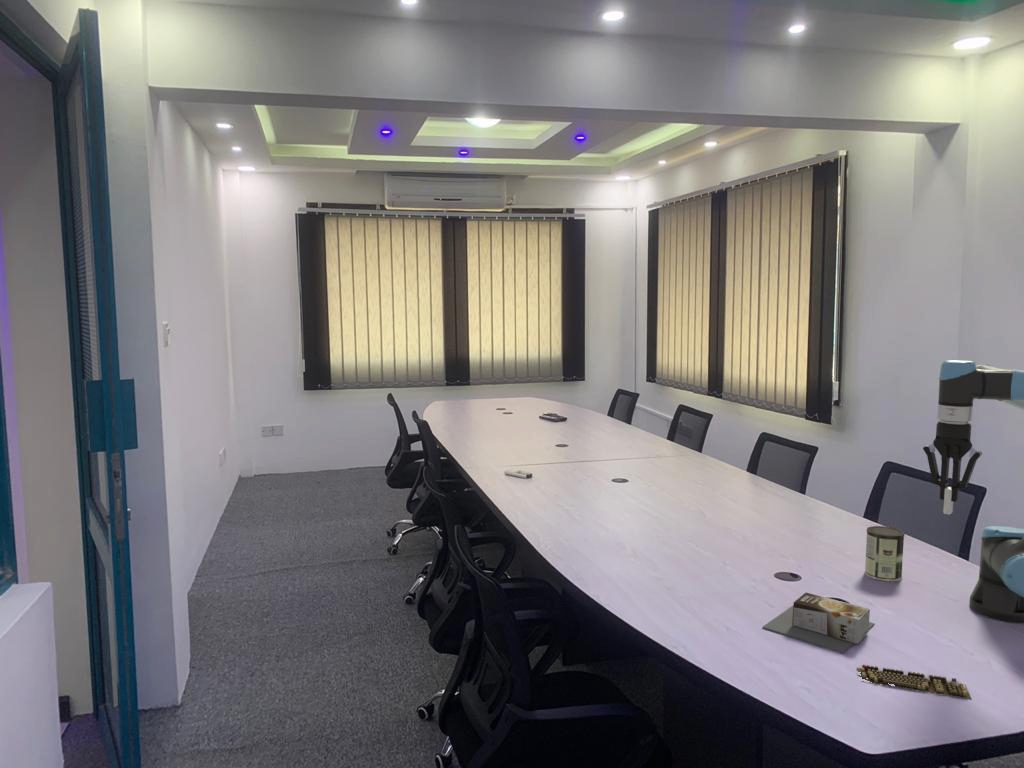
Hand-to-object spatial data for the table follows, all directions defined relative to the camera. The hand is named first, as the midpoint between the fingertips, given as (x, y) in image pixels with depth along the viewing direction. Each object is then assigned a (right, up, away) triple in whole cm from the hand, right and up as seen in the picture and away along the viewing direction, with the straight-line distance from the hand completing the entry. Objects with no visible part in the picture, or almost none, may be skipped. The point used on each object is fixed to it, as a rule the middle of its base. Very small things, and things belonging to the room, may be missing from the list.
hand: (947, 512), depth 188 cm
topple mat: (-33, -29, +1) cm, 44 cm away
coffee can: (+2, -26, +37) cm, 45 cm away
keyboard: (-24, -33, -26) cm, 49 cm away
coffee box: (-25, -27, -7) cm, 37 cm away
